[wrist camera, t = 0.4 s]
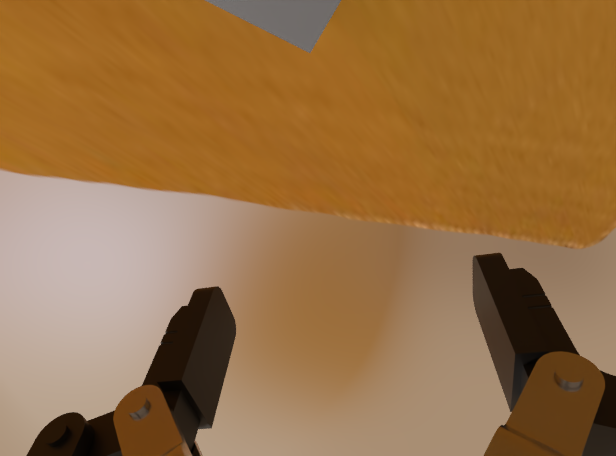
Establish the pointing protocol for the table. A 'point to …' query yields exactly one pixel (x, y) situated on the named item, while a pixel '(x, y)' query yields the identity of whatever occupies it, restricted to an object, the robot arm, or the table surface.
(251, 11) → the socket block
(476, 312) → the robot arm
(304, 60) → the table surface
